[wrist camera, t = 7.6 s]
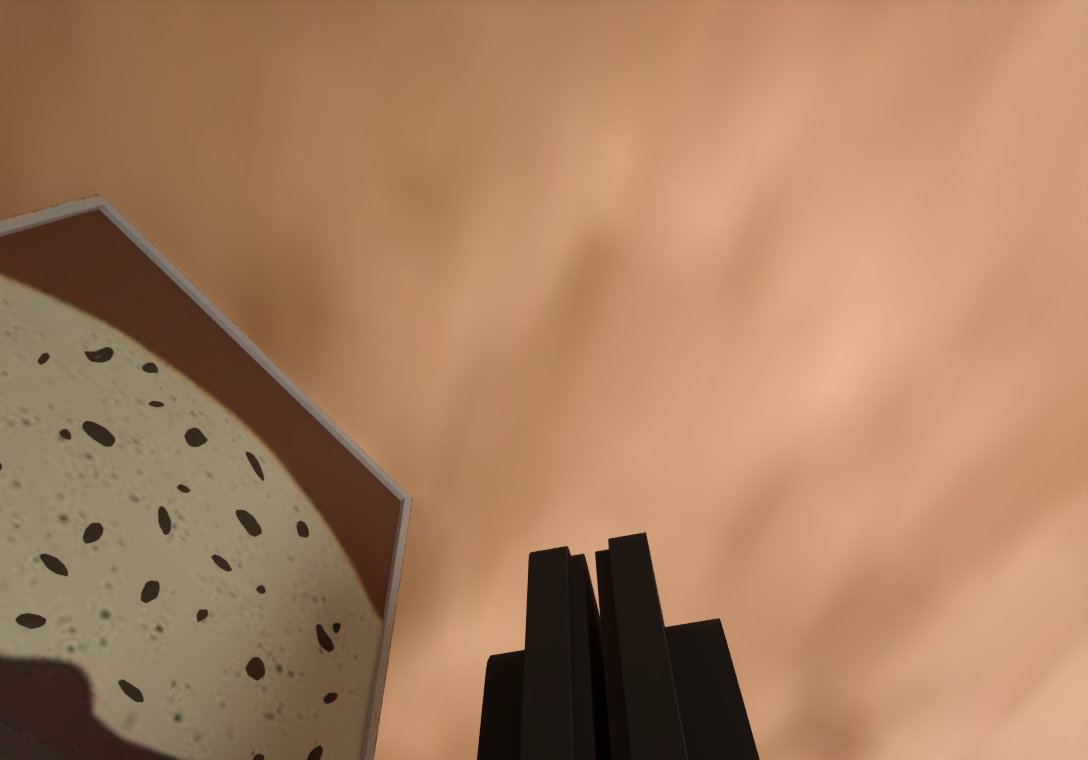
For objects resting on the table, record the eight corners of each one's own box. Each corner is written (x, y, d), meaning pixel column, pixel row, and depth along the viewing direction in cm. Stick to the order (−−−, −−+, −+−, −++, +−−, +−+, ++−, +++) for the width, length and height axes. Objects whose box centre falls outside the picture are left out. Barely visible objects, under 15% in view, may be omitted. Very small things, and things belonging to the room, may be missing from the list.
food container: (-132, 312, 17) (-877, 668, 8) (39, 133, 15) (-676, 339, 7) (282, 648, 21) (83, 1122, 13) (453, 537, 20) (363, 999, 11)
